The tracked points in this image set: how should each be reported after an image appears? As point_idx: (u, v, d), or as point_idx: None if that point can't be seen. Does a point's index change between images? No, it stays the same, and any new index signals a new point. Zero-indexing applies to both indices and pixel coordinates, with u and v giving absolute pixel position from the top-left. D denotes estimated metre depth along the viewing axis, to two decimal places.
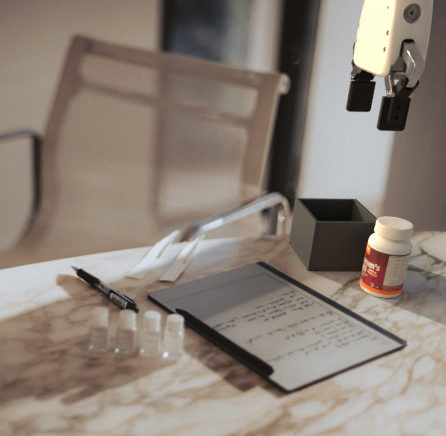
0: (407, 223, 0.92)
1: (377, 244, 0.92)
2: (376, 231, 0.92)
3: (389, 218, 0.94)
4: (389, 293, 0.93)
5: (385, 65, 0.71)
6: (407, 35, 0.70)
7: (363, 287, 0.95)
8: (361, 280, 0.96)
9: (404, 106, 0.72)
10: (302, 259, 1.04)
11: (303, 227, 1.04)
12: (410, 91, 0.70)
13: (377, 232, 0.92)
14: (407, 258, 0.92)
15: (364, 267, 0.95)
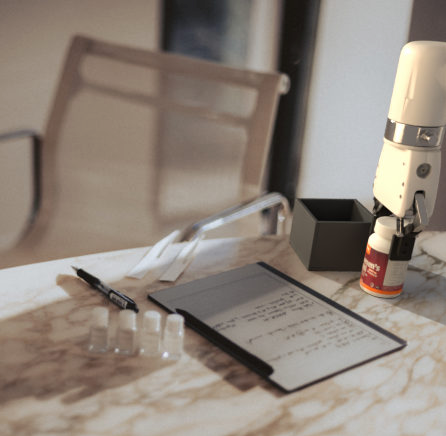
0: (407, 223, 0.92)
1: (377, 244, 0.92)
2: (376, 231, 0.92)
3: (389, 218, 0.94)
4: (389, 293, 0.93)
5: (401, 209, 0.86)
6: (419, 187, 0.85)
7: (363, 287, 0.95)
8: (361, 280, 0.96)
9: (410, 243, 0.88)
10: (302, 259, 1.04)
11: (303, 227, 1.04)
12: (415, 234, 0.87)
13: (377, 232, 0.92)
14: None
15: (364, 267, 0.95)
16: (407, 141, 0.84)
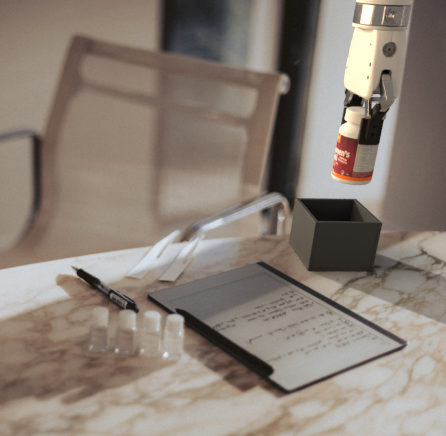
0: None
1: (346, 131, 0.95)
2: (346, 118, 0.95)
3: (359, 107, 0.97)
4: (359, 179, 0.96)
5: (368, 90, 0.89)
6: (385, 66, 0.88)
7: (334, 176, 0.99)
8: (332, 170, 0.99)
9: (378, 126, 0.92)
10: (302, 259, 1.04)
11: (303, 227, 1.04)
12: (382, 114, 0.90)
13: (347, 119, 0.95)
14: None
15: (335, 156, 0.98)
16: (373, 21, 0.87)
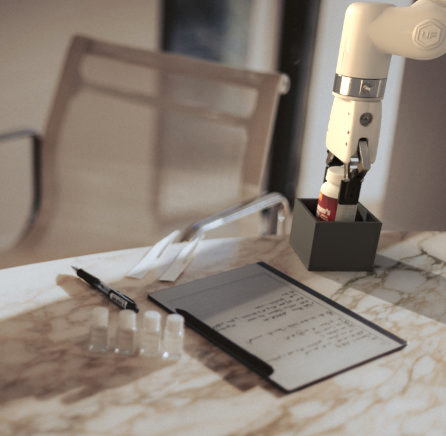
0: None
1: (327, 190, 1.01)
2: (327, 179, 1.01)
3: (339, 167, 1.02)
4: None
5: (347, 155, 0.95)
6: (362, 135, 0.93)
7: None
8: None
9: (357, 188, 0.97)
10: (302, 259, 1.04)
11: (303, 227, 1.04)
12: (360, 178, 0.96)
13: (328, 179, 1.01)
14: None
15: (317, 213, 1.04)
16: (351, 93, 0.93)
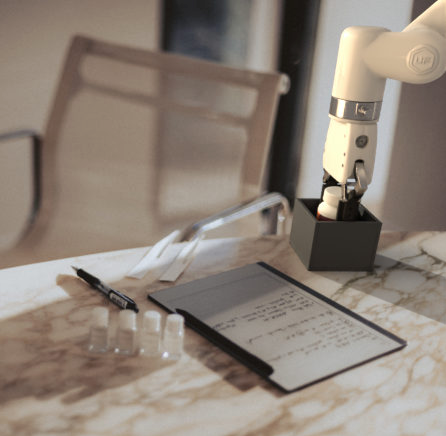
0: None
1: (324, 211, 1.02)
2: (324, 199, 1.02)
3: (336, 187, 1.04)
4: None
5: (343, 177, 0.96)
6: (358, 157, 0.95)
7: None
8: None
9: (354, 208, 0.98)
10: (302, 259, 1.04)
11: (303, 227, 1.04)
12: (358, 199, 0.97)
13: (325, 200, 1.02)
14: None
15: None
16: (347, 115, 0.94)
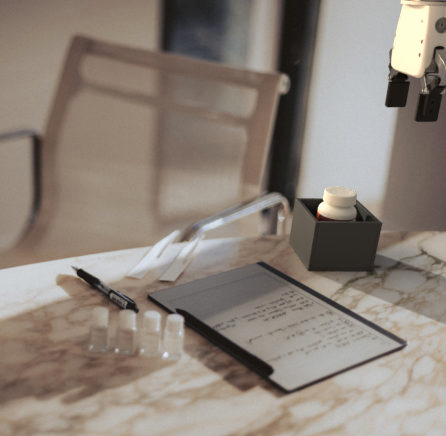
0: (352, 192, 1.02)
1: (324, 211, 1.02)
2: (324, 199, 1.02)
3: (336, 187, 1.04)
4: None
5: (420, 68, 0.87)
6: (438, 43, 0.85)
7: None
8: None
9: (437, 101, 0.87)
10: (302, 259, 1.04)
11: (303, 227, 1.04)
12: (442, 88, 0.86)
13: (325, 200, 1.02)
14: None
15: None
16: None
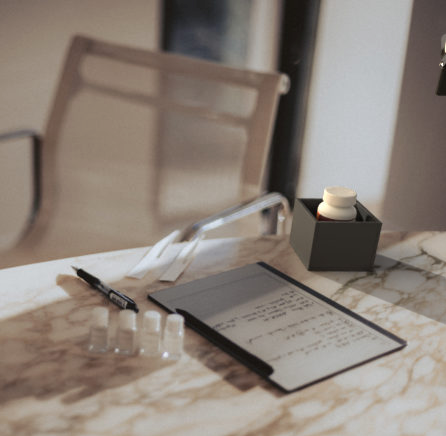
0: (352, 192, 1.02)
1: (324, 211, 1.02)
2: (324, 199, 1.02)
3: (336, 187, 1.04)
4: None
5: None
6: None
7: None
8: None
9: None
10: (302, 259, 1.04)
11: (303, 227, 1.04)
12: None
13: (325, 200, 1.02)
14: None
15: None
16: None
